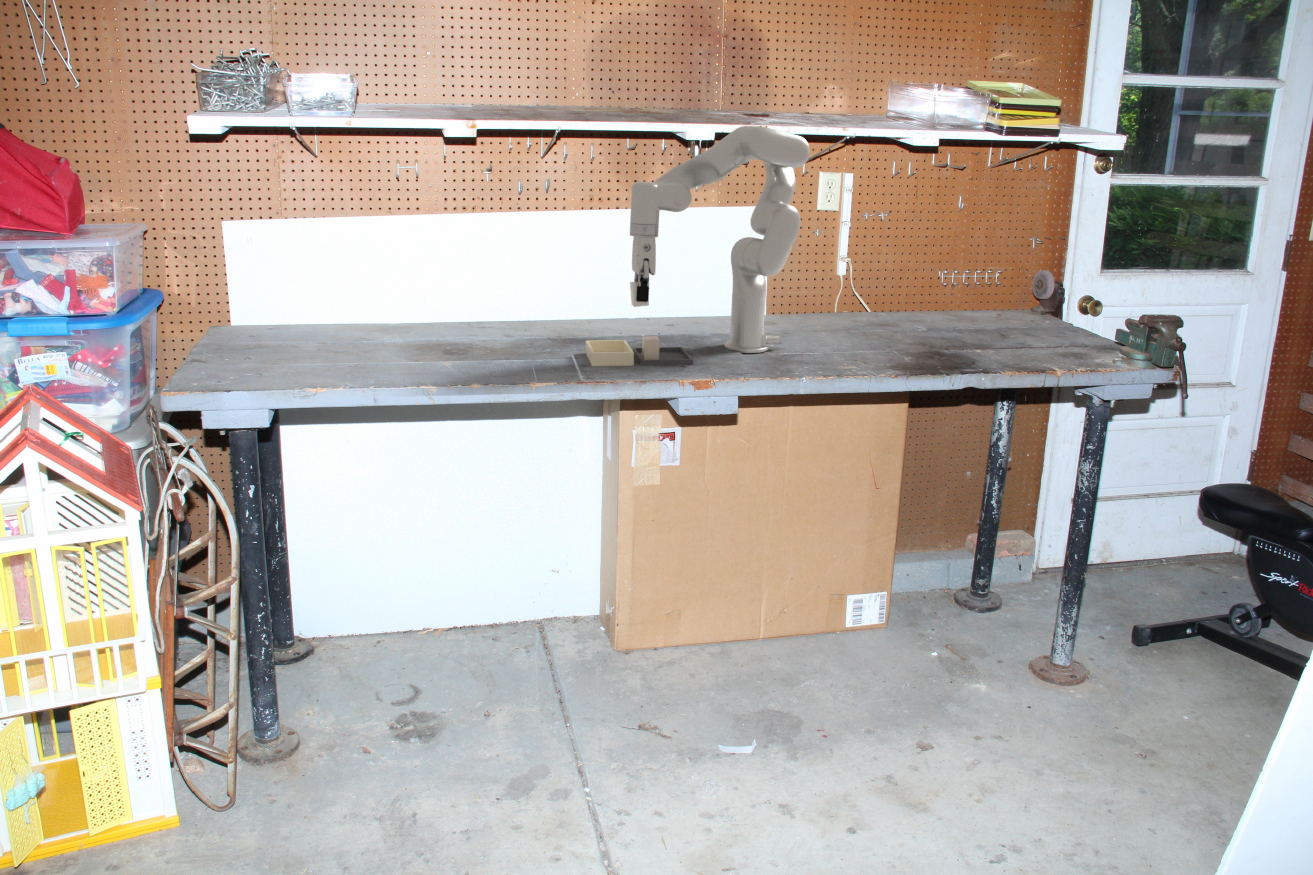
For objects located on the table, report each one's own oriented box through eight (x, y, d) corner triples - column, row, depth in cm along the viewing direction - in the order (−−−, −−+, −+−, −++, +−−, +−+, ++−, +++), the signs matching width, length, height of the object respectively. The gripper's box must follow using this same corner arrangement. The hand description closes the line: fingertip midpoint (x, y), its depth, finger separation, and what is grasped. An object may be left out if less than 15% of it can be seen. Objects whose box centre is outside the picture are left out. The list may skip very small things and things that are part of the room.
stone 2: (656, 357, 266) (656, 336, 264) (658, 361, 263) (659, 339, 261) (641, 358, 266) (642, 336, 264) (644, 361, 262) (644, 339, 260)
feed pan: (681, 353, 274) (681, 346, 274) (692, 366, 260) (693, 359, 260) (632, 354, 272) (632, 347, 271) (641, 367, 258) (641, 360, 257)
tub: (625, 354, 272) (625, 340, 270) (633, 367, 258) (633, 352, 256) (585, 354, 270) (585, 340, 269) (591, 368, 256) (592, 353, 255)
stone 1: (646, 302, 265) (644, 280, 263) (648, 305, 261) (647, 283, 259) (631, 304, 264) (630, 282, 262) (634, 307, 260) (632, 284, 259)
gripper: (664, 234, 250) (660, 305, 255) (652, 228, 265) (648, 295, 271) (635, 233, 248) (632, 305, 254) (624, 227, 264) (621, 294, 269)
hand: (640, 299), depth 262 cm, fingers closed on stone 1, 4 cm apart
